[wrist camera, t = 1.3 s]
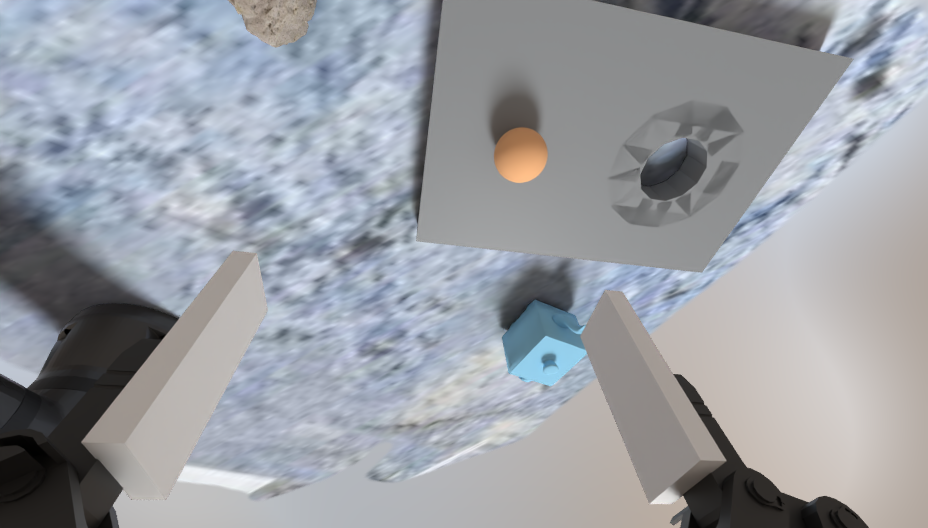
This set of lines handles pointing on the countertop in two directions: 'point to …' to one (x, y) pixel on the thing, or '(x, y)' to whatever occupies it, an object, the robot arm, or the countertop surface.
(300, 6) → the stone
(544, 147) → the ball
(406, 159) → the countertop surface
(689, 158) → the plate
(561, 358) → the light blue teapot
